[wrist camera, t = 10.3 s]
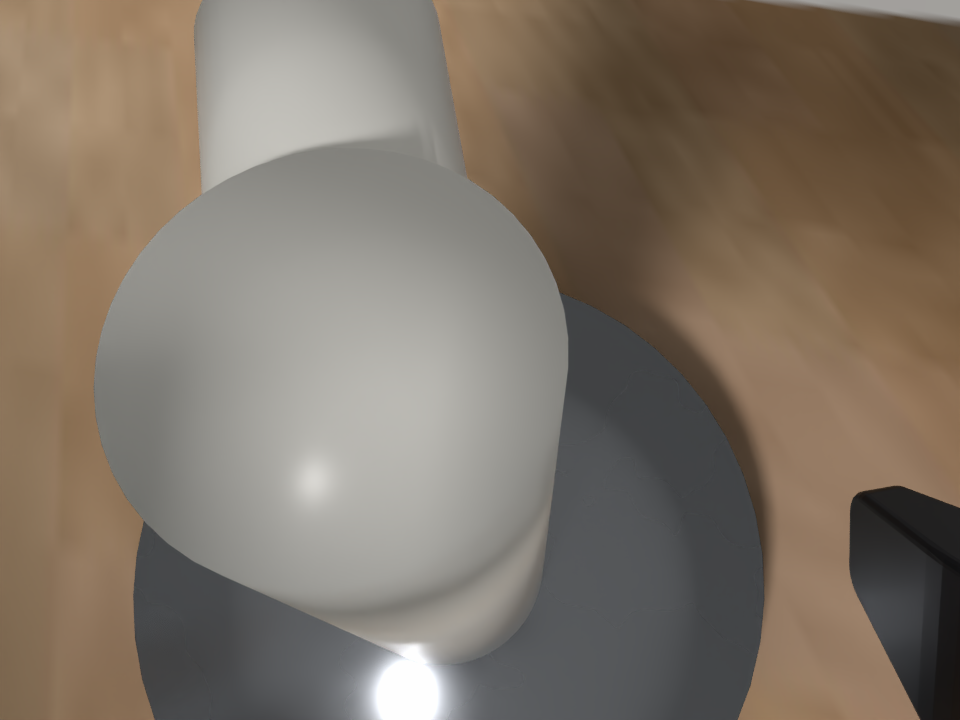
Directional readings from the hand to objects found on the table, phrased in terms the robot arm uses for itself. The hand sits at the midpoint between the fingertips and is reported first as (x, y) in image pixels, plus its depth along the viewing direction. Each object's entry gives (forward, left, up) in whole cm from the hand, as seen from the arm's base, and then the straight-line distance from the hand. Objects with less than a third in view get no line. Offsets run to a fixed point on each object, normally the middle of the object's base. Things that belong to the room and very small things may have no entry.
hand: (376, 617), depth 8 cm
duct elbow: (+2, -3, -12) cm, 12 cm away
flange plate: (+2, -2, -13) cm, 13 cm away
